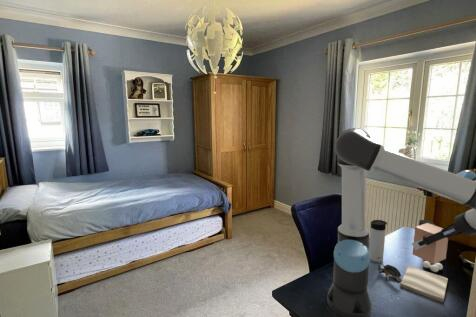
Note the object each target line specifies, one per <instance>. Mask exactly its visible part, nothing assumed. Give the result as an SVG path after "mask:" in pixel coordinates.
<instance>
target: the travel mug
mask: <svg viewBox="0 0 476 317" xmlns="http://www.w3.org/2000/svg"><path fill="white" fill-rule="evenodd" d="M387 225H388V223H387V221H385V220H382V219H373V220H371V222H370V230H369V243H370V246H369V256H370V262H371V263H374V264H382V263H383V262H384V252H385V240H386V230H387V229H386V228H387ZM381 262H382V263H381Z"/></svg>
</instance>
